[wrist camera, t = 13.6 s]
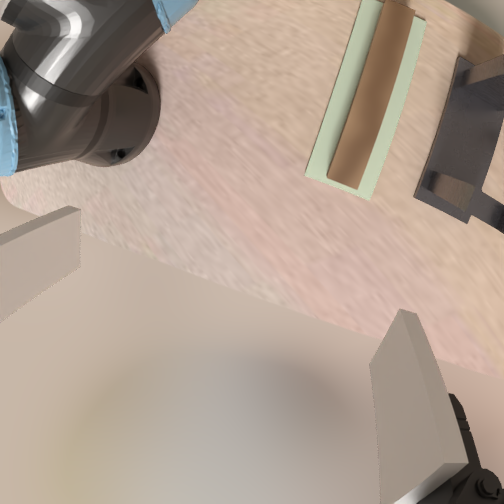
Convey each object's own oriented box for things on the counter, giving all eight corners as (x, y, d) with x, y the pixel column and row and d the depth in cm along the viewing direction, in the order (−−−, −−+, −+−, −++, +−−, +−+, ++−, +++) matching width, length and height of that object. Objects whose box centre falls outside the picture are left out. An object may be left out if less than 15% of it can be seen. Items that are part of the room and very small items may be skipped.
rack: (413, 196, 34) (449, 223, 23) (457, 57, 26) (504, 33, 15) (464, 222, 33) (510, 256, 22) (507, 89, 26) (561, 81, 15)
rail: (326, 174, 35) (326, 178, 31) (381, 8, 26) (386, -2, 23) (354, 185, 34) (357, 190, 31) (408, 20, 26) (415, 10, 23)
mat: (304, 175, 36) (304, 175, 35) (362, -3, 26) (363, -5, 26) (368, 199, 35) (369, 200, 34) (425, 23, 26) (426, 21, 25)
